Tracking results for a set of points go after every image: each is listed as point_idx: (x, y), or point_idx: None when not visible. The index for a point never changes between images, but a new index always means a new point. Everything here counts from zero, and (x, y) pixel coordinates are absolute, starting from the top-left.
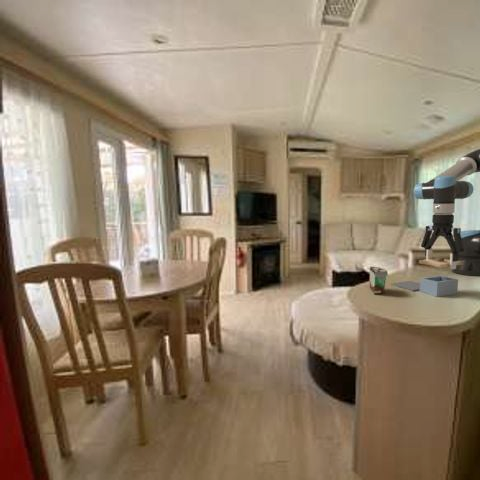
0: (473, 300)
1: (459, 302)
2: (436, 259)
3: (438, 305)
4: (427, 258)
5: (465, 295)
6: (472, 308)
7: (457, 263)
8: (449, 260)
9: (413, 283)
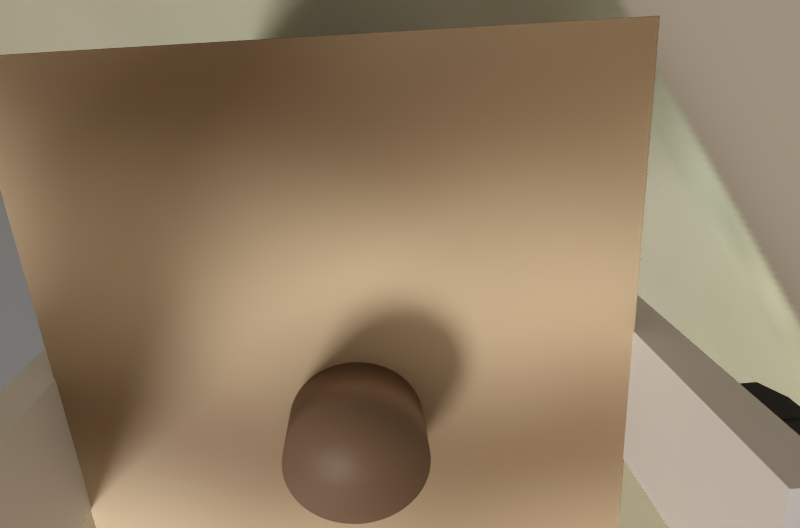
0: (678, 142)
1: None
2: (189, 380)
3: (627, 515)
4: (77, 519)
5: None
6: (791, 352)
7: (629, 226)
8: (411, 219)
9: (2, 237)
